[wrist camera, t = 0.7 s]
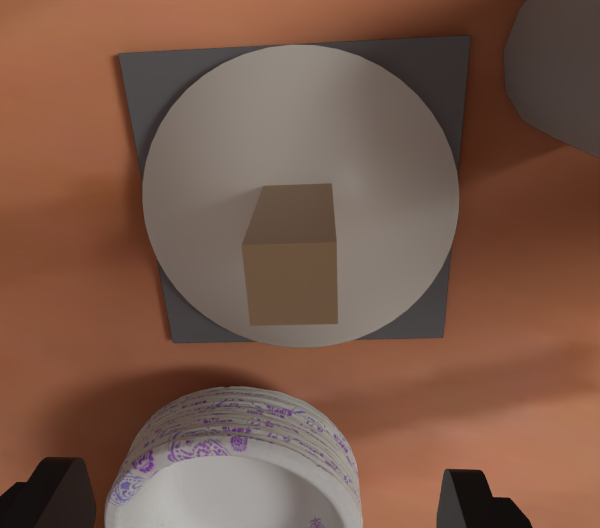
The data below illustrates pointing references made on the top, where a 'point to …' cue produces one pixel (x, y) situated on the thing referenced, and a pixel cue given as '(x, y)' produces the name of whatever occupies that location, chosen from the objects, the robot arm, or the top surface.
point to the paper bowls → (236, 466)
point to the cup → (557, 70)
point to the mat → (386, 53)
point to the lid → (300, 196)
